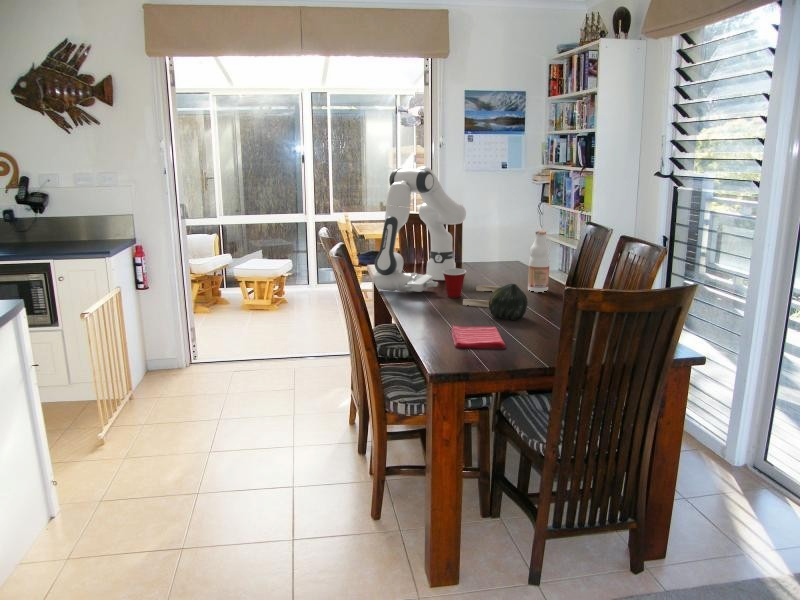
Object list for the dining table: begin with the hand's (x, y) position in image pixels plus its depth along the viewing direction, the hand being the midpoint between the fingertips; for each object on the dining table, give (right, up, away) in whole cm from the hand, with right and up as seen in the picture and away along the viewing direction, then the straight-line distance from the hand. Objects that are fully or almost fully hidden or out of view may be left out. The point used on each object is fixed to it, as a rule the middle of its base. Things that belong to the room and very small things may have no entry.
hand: (437, 284), depth 292 cm
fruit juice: (+48, -3, +11) cm, 49 cm away
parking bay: (+23, -7, -6) cm, 25 cm away
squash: (+26, -14, -38) cm, 48 cm away
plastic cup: (+7, -6, -1) cm, 9 cm away
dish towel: (+10, -21, -66) cm, 71 cm away
